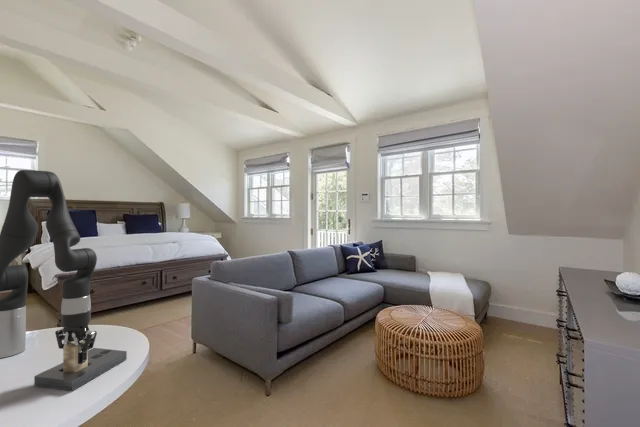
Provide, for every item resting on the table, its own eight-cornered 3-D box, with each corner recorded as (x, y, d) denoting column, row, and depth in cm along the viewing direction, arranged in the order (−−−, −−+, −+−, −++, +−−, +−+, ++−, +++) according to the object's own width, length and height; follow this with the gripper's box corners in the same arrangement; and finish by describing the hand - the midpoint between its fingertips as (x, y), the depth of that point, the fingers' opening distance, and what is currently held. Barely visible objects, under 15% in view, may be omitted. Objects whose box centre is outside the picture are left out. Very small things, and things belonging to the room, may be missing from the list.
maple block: (63, 373, 96) (63, 345, 96) (76, 367, 100) (76, 340, 100) (74, 375, 95) (74, 347, 95) (87, 368, 100) (87, 341, 100)
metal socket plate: (34, 385, 92) (34, 375, 92) (94, 355, 112) (94, 347, 112) (72, 391, 90) (72, 380, 90) (126, 359, 109) (126, 350, 109)
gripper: (46, 312, 95) (45, 365, 95) (83, 315, 93) (83, 370, 93) (69, 305, 103) (69, 354, 103) (105, 307, 100) (104, 358, 100)
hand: (75, 361), depth 98 cm, fingers closed on maple block, 4 cm apart
